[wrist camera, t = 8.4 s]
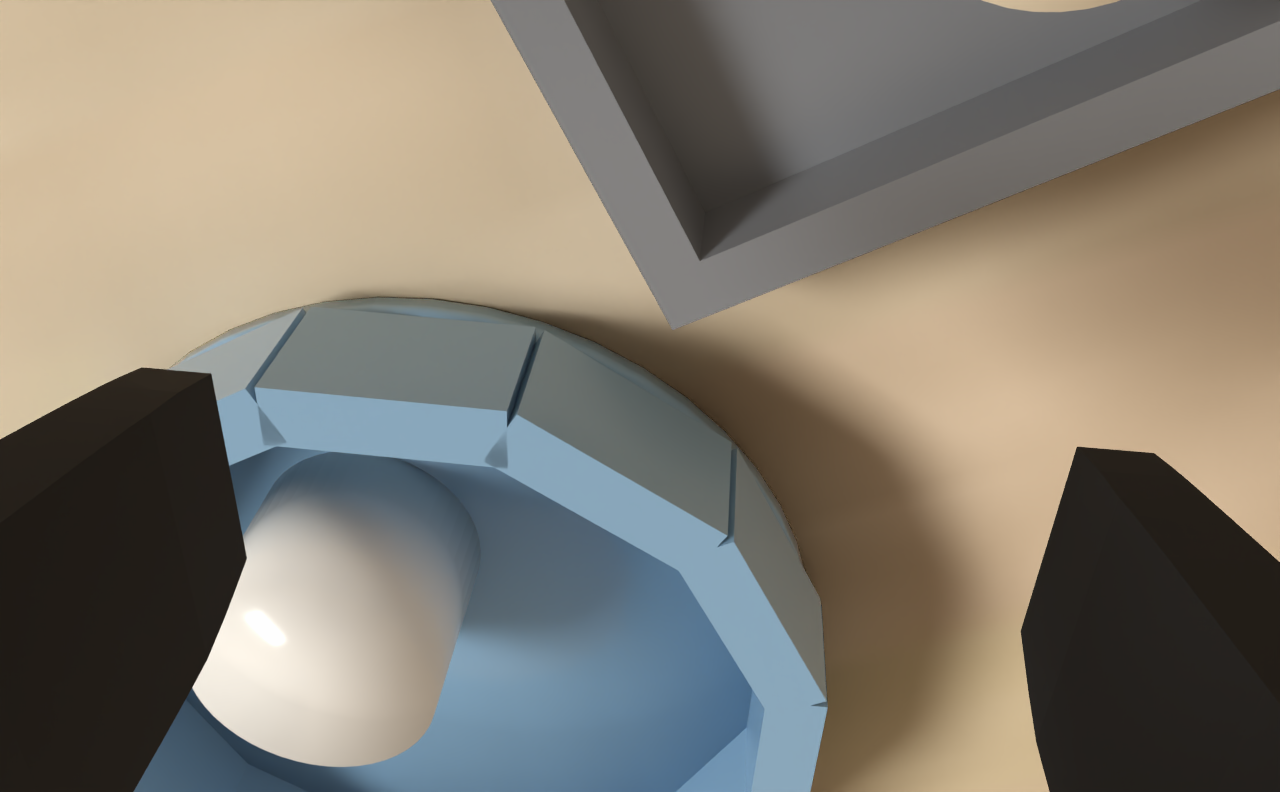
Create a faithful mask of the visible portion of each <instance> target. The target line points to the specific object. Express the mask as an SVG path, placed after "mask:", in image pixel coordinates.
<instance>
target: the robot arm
mask: <svg viewBox="0 0 1280 792" xmlns="http://www.w3.org/2000/svg"><path fill="white" fill-rule="evenodd" d="M246 560H247V556H246V550H245V545H244V540H243V535H242V530H241V524H240V519H239V514H238V509H237V504H236V499H235V493H234V488H233V483H232V478H231V473H230V468H229V462H228V457H227V452H226V447H225V442H224V436H223V431H222V426H221V421H220V416H219V411H218V405H217V400H216V395H215V390H214V385H213V380H212V374H211V373H200V372H188V371H176V370H164V369H153V368H140V369H137V370H135V371H133V372H130V373H128V374H126V375H123V376H121V377H119V378H117V379H115V380H112V381H110V382H108V383H106V384H104V385H102V386H100V387H98V388H96V389H94V390H92V391H90V392H88V393H86V394H84V395H82V396H80V397H79V398H77V399H75V400H73V401H71V402H69V403H67V404H65V405H63V406H61V407H60V408H58V409H56V410H54V411H52V412H50V413H48V414H46V415H45V416H43V417H41V418H39V419H37V420H35V421H33V422H32V423H30V424H28V425H26V426H24V427H22V428H21V429H19V430H17V431H15V432H13V433H11V434H10V435H8V436H6V437H4V438H2V439H0V792H134V790H135V788H136V787H137V785H138V783H139V781H140V780H141V778H142V776H143V774H144V773H145V771H146V769H147V767H148V766H149V764H150V762H151V760H152V759H153V757H154V755H155V753H156V752H157V750H158V748H159V746H160V745H161V743H162V741H163V739H164V737H165V736H166V734H167V732H168V730H169V728H170V727H171V725H172V723H173V721H174V719H175V718H176V716H177V714H178V712H179V711H180V709H181V707H182V705H183V703H184V702H185V700H186V698H187V696H188V694H189V693H190V691H191V689H192V687H193V685H194V684H195V682H196V680H197V678H198V676H199V674H200V672H201V671H202V669H203V667H204V665H205V663H206V661H207V659H208V657H209V655H210V652H211V650H212V647H213V645H214V643H215V640H216V638H217V635H218V633H219V630H220V628H221V626H222V623H223V621H224V618H225V616H226V614H227V611H228V608H229V606H230V603H231V600H232V598H233V595H234V592H235V590H236V587H237V584H238V582H239V579H240V576H241V574H242V571H243V568H244V566H245V563H246ZM1021 636H1022V644H1023V652H1024V660H1025V668H1026V675H1027V683H1028V691H1029V698H1030V704H1031V711H1032V717H1033V723H1034V730H1035V736H1036V742H1037V746H1038V750H1039V754H1040V758H1041V761H1042V765H1043V769H1044V773H1045V776H1046V780H1047V784H1048V787H1049V791H1050V792H1280V562H1279V561H1278V560H1277V559H1275V558H1274V557H1273V556H1272V555H1271V554H1270V553H1269V552H1268V551H1267V550H1265V549H1264V548H1263V547H1262V546H1261V545H1260V544H1259V543H1258V542H1256V541H1255V540H1254V539H1253V538H1252V537H1251V536H1250V535H1249V534H1248V533H1246V532H1245V531H1244V530H1243V529H1242V528H1241V527H1240V526H1239V525H1237V524H1236V523H1235V522H1234V521H1233V520H1232V519H1231V518H1230V517H1229V516H1227V515H1226V514H1225V513H1224V512H1223V511H1222V510H1221V509H1220V508H1218V507H1217V506H1216V505H1215V504H1214V503H1213V502H1212V501H1211V500H1209V499H1208V498H1207V497H1206V496H1205V495H1204V494H1203V493H1202V492H1200V491H1199V490H1198V489H1197V488H1196V487H1195V486H1194V485H1192V484H1191V483H1190V482H1189V481H1188V480H1187V479H1185V478H1184V477H1183V476H1182V475H1181V474H1179V473H1178V472H1177V471H1176V470H1175V469H1173V468H1172V467H1171V466H1170V465H1168V464H1167V463H1166V462H1165V461H1163V460H1162V459H1161V458H1160V457H1158V456H1157V455H1156V454H1154V453H1145V452H1133V451H1121V450H1109V449H1098V448H1086V447H1077V449H1076V452H1075V455H1074V458H1073V462H1072V465H1071V468H1070V472H1069V475H1068V478H1067V481H1066V485H1065V488H1064V491H1063V495H1062V498H1061V501H1060V504H1059V508H1058V511H1057V514H1056V517H1055V521H1054V524H1053V527H1052V531H1051V534H1050V537H1049V540H1048V544H1047V547H1046V550H1045V554H1044V557H1043V560H1042V563H1041V567H1040V570H1039V573H1038V577H1037V580H1036V583H1035V586H1034V590H1033V593H1032V596H1031V599H1030V603H1029V606H1028V609H1027V613H1026V616H1025V619H1024V622H1023V626H1022V629H1021Z"/></svg>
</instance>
